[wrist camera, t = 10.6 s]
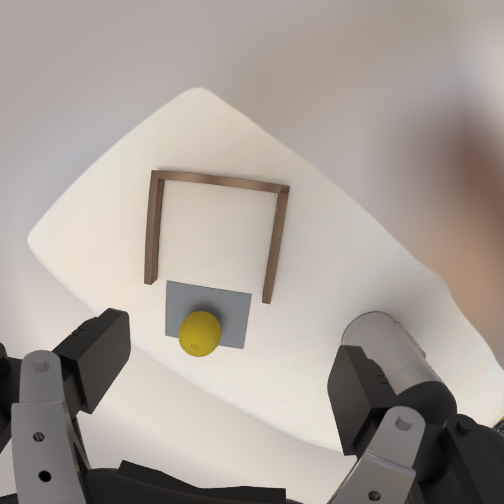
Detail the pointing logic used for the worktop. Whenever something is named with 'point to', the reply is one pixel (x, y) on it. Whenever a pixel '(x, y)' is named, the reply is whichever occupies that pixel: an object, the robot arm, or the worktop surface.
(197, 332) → the lemon
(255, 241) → the worktop surface
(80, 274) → the worktop surface
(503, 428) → the medicine bottle
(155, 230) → the bay
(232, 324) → the mat
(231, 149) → the worktop surface
